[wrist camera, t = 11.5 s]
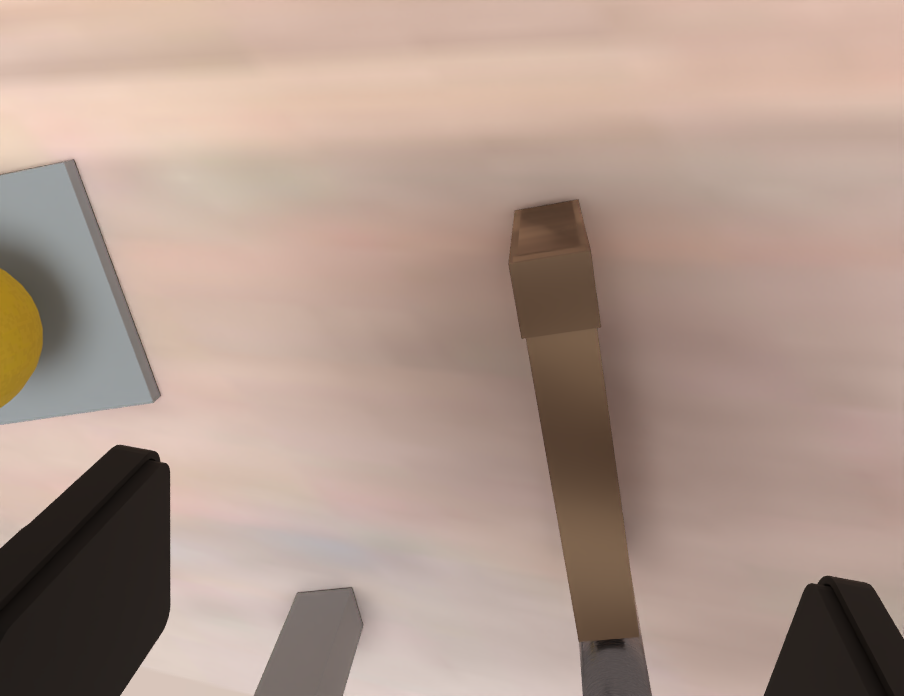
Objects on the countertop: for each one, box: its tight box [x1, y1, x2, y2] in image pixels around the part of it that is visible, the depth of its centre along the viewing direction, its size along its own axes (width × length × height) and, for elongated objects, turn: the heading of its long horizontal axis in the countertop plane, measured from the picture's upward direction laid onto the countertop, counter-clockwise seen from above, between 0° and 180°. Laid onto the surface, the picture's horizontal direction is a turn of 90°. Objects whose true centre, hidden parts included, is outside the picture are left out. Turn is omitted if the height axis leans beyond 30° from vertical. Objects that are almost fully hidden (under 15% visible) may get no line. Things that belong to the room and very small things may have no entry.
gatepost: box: [579, 578, 652, 696], centre depth 26 cm, size 2×2×9 cm
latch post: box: [254, 588, 363, 696], centre depth 30 cm, size 2×2×7 cm
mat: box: [0, 160, 160, 425], centre depth 28 cm, size 9×8×1 cm
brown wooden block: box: [509, 200, 639, 642], centre depth 24 cm, size 12×2×6 cm, turn 11°
